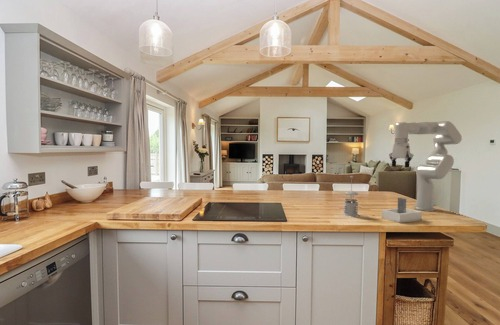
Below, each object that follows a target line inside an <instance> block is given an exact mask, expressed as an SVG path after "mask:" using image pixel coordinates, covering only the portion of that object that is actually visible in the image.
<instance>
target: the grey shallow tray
mask: <svg viewBox="0 0 500 325" xmlns="http://www.w3.org/2000/svg"><path fill="white" fill-rule="evenodd" d="M397 211H398V207H397V208H388V209H387V208H386V209H382V210H381V218H382V219H384V220H388V221H391V222H395V223H398V224H403V223H410V222H411V223H412V222H418V221H419V222H420V221H422V220H423V218H422V217H423V211H421V210H417V209H415V210H414V209H411V208H407V207H406V213H401V214H399V213H397Z"/></svg>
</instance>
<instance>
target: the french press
mask: <svg viewBox="0 0 500 325" xmlns="http://www.w3.org/2000/svg"><path fill="white" fill-rule="evenodd" d="M349 178H351V179H350V180H351V183H350V188H351V189H350V190H348V191H345V192H344V194H345V195H347V196H350V197H352V198H345V201H344V205H343V206H344V208H343V211H344V212H343V213H342V215H343V216H344V215H345V216H344V217H349V216H351V217H352V218H357V216H358V217H360V215H359V213H358V211H359V210H358V206H359V205H358V204H359V202H357V201H358V200H357V199H355V196H358V195H359V193H358V192H356V191H354V190H353V189H352V186H353V183H352V181H353V178H354V176H353V175H350V176H349ZM351 217H350V218H351Z"/></svg>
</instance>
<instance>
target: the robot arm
mask: <svg viewBox="0 0 500 325" xmlns="http://www.w3.org/2000/svg"><path fill="white" fill-rule="evenodd" d="M409 135H434V136H433V138H432V141H433V147H434V148H433V150H432V152H431V153H430V154H429V155H428V157H427V158H426V161H425V163H426V164H420V165H418V166H417V167H416V169H415V174H416V179H417V180H416V182H417V185H416V186H417V187H416V188H417V189H416V205H415V206H413V209H415V210H416V211H422V212H423V211H425V212H434V211H436V208H435V207H436V206H437V203H434V188H435V187H434V185H435V184H434V182H433V181H432V180H442V179H444V178H445V177H446V176H447V175H448V173H449V172H450V171H451V169H452V167H453V165H454V163H455V161H454V160H455V159H454V157H453V155H451V154H449V153H448V149H447V148H446V145H458V144H460V143H461V141H462V140H463V138H462V134H461V133H460V131H459V130H458V128H457V127H456V125H455V124H454V123H453V122H451V121H449V120H444V121H422V122H405V121H404V122H402V121H401V122H396V123H395V124H394V143H393V146H392V152H390V153H389V154H388V157H389V159H390V161H391V167H393V168H394V167H397V159H404V161H405V162H404V167H405V168H406V169H407V168H410V162H411V160H413V158H414V154H413V153H411V148H410V143H408V142H409V141H410V139H409Z"/></svg>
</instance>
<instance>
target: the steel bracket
mask: <svg viewBox="0 0 500 325" xmlns="http://www.w3.org/2000/svg"><path fill="white" fill-rule="evenodd" d="M397 208H398V211H397V213H399V214H401V213H406V208H407V198H404V197H397Z"/></svg>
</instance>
